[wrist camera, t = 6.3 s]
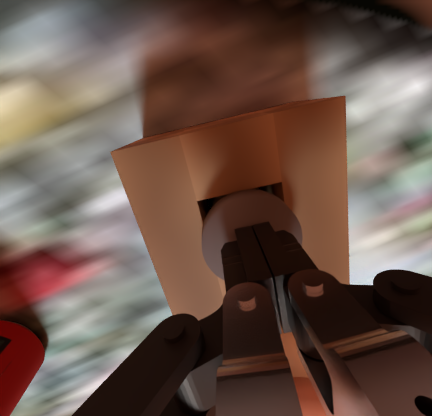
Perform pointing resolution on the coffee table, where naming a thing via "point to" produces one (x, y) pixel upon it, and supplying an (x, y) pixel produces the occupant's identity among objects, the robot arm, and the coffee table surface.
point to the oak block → (238, 189)
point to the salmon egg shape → (301, 379)
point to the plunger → (242, 221)
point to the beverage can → (17, 363)
